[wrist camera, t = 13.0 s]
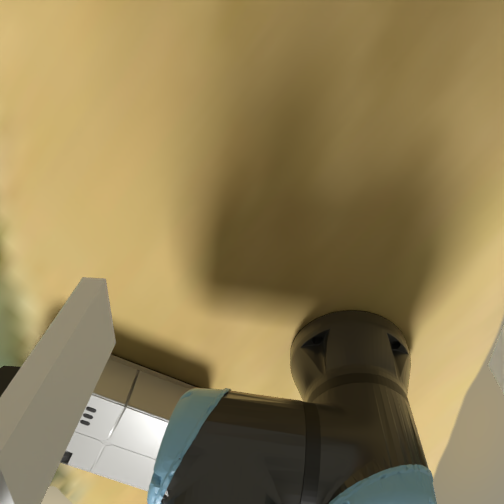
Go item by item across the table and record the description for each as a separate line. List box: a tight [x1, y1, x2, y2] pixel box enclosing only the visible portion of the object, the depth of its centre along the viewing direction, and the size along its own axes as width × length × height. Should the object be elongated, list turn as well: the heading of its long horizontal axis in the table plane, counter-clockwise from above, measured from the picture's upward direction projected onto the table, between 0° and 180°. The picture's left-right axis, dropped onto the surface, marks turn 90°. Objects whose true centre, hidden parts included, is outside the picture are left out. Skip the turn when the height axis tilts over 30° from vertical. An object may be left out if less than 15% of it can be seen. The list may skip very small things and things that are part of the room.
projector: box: [60, 354, 197, 491], centre depth 64 cm, size 17×22×8 cm
